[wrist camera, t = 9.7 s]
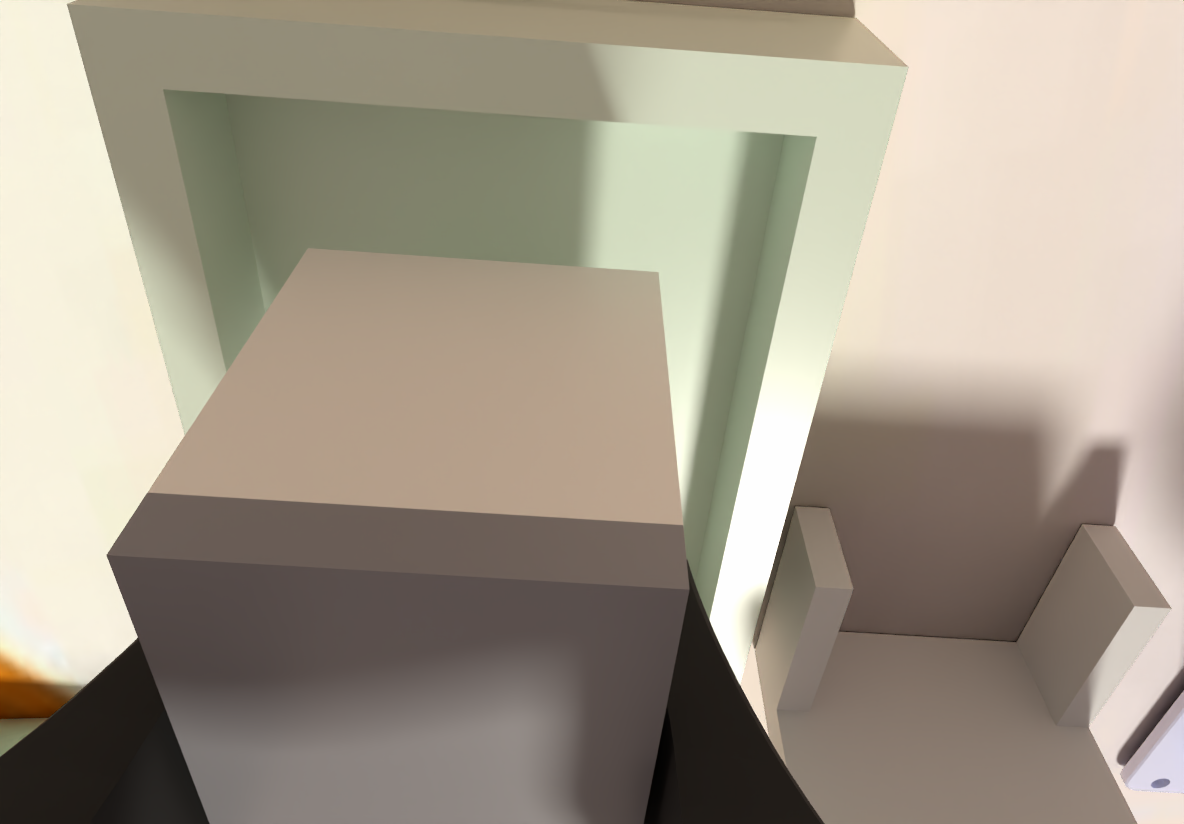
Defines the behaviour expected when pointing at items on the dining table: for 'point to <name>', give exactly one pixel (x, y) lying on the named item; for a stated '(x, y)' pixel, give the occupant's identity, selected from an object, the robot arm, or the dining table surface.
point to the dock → (952, 693)
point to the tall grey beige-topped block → (422, 550)
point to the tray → (520, 192)
